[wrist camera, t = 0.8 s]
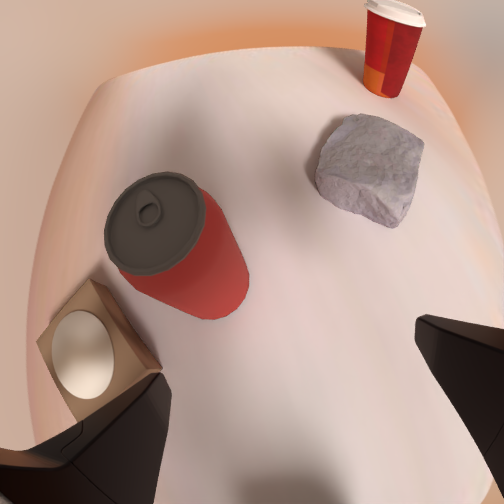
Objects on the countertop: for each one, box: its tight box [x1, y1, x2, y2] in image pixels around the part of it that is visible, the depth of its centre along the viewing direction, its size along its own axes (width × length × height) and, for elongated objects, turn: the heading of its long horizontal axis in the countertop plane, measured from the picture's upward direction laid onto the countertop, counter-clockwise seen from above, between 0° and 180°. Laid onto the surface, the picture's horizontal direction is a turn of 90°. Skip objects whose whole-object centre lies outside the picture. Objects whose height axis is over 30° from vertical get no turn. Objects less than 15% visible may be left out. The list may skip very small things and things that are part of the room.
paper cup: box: [363, 0, 426, 98], centre depth 24 cm, size 8×8×14 cm
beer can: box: [104, 172, 249, 320], centre depth 18 cm, size 7×7×12 cm
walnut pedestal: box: [36, 279, 163, 422], centre depth 21 cm, size 10×10×3 cm
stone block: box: [315, 114, 424, 228], centre depth 25 cm, size 12×5×10 cm
